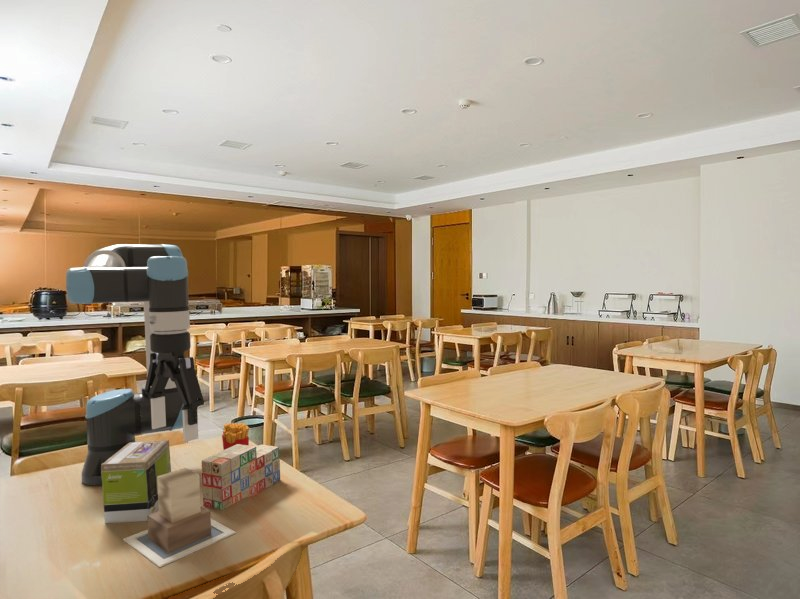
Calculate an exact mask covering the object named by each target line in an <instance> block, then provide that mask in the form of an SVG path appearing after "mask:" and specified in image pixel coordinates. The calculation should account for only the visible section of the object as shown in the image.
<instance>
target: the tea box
mask: <svg viewBox="0 0 800 599" xmlns="http://www.w3.org/2000/svg"><path fill="white" fill-rule="evenodd" d="M171 464H172V463H171V452H170V440H169V439H165V440H152V441H151V440H150V441H135V442H130V443H128V444H127V445H126V446H124V447H123V448H122V449H121V450H119V451H118V452H117V453H115V454H114V455H113V456H112V457H110V458H109V459H108V460H107V461H105V462H104V463H103V464H101V475H102V485H101V486H102V488H101V489H102V500H103V501H102V502H103V513H104V514H103V517H104V523H105V524H113V523H114V524H115V523H128V522H129V523H131V522H146V521H147V522H148V520H147V515H149V514H152V513H154V512H157V511H159V507H158V484H157V476H160V475H163V474H167V473H170V472H172V465H171Z"/></svg>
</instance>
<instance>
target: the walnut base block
mask: <svg viewBox="0 0 800 599" xmlns="http://www.w3.org/2000/svg"><path fill="white" fill-rule="evenodd" d="M200 508H201V512H199V513H197V514H194V515H191V516H189V517H186V518H184V519H181V520H179V521H176V522H173V523H172V522H170V521H169V520H167V519H166V518H164V517H162V516H161V515H159V510H158V511H157V512H154V513H152V514H149V515H147V520H148V521H147V529H148V539H150V540H151V541H152V542H154V543H155V544H157V545H158V546H160V547H161V548H162V549H164V550H165V551H167V552H168V553H171V552H173V551H175V550H177V549H180V548H182V547H184V546H187V545H189V544H191V543H194V542H196V541H198V540H200V539H203V538H205V537H207V536H210V535H211V519H212V517H211V510H208V509H207V508H206V507H204V506H201V505H200Z"/></svg>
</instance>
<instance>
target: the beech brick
mask: <svg viewBox="0 0 800 599" xmlns="http://www.w3.org/2000/svg"><path fill="white" fill-rule="evenodd" d="M157 484H158V507H159V510H158V511H159V515H161V516H162V517H164V518H166V519H167V520H169V521H170V522H172V523H173V522H176V521H179V520H181V519H184V518H186V517H189V516H191V515H194V514H197V513H199V512H201V508H200V506H201V491H200V490H201V489H200V486H201V485H200V474H199V473H198V472H195V471H193V470H190V469H188V468H187V467H184V468H183V467H182V468H180V469H177V470H174V471H171V472H170V473H167V474H163V475H160V476H157Z"/></svg>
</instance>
